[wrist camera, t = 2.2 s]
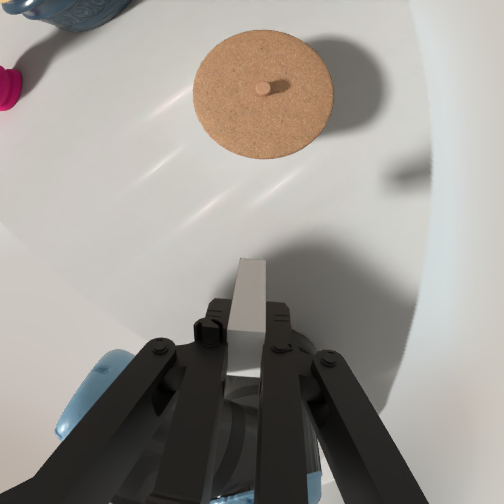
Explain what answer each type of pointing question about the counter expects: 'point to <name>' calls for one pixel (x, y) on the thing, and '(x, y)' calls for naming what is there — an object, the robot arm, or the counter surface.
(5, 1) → the canister
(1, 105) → the pepper mill
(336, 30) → the counter surface
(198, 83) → the lidded jar
